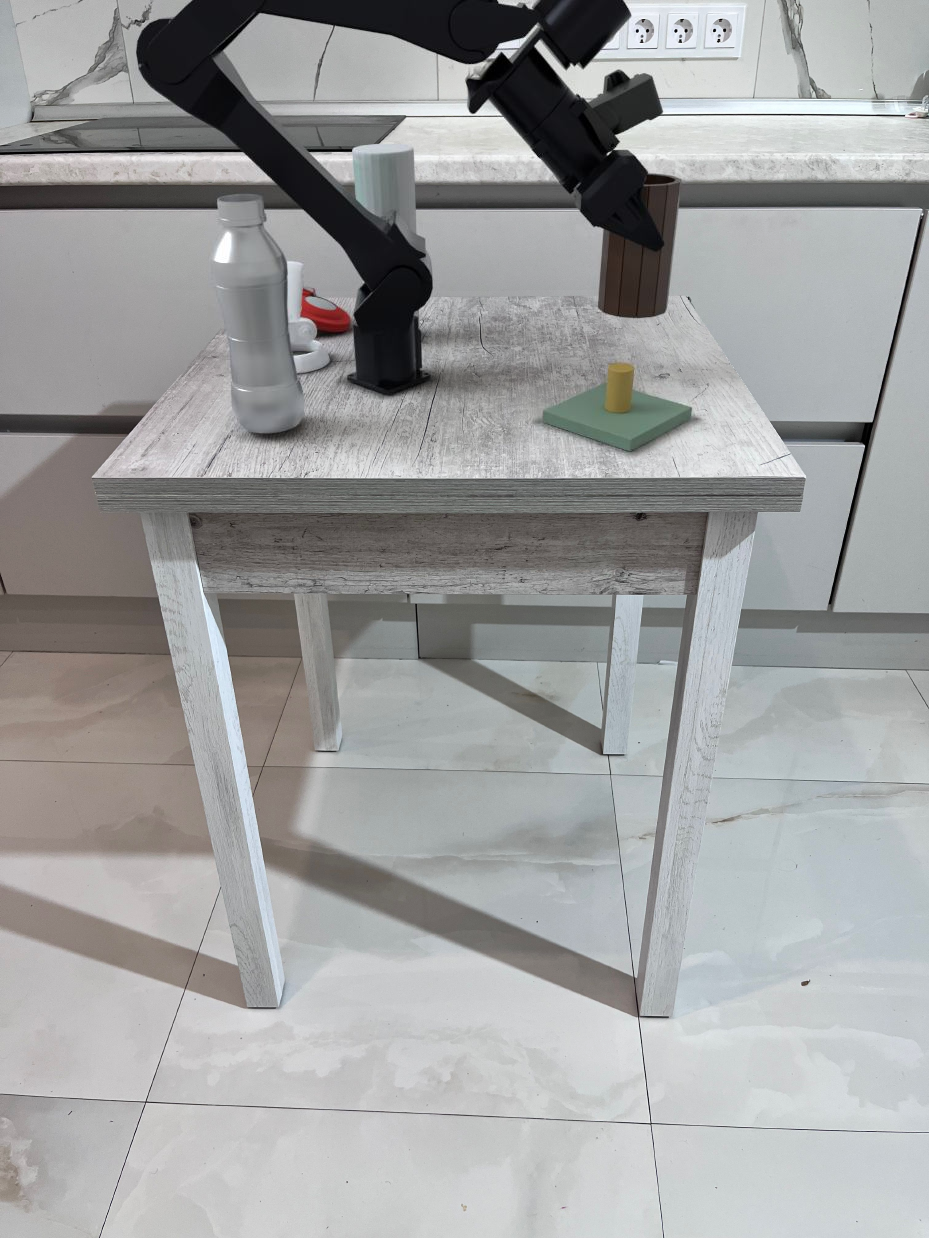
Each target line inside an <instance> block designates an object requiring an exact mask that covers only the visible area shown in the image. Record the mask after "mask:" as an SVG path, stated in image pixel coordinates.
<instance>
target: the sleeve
mask: <svg viewBox="0 0 929 1238" xmlns="http://www.w3.org/2000/svg"><path fill="white" fill-rule="evenodd" d="M682 181H683V179H682V178H679V177H677V176H675V175H671V174H663V173H654V172H653V173H652V172H651V173H650V172H648V174H647V176H646V181H645V182H644V186H643V192H642V199H643V201H644V203H645V205H646V207H647V209H648V211H649V213H650V215H651V217H652V219H653V221H654V223H655V225H656V227H657V229H658V231H659V233H660V234H661V236H662V238H663V240H664V242H665V244H664V246H663V247H662V248H661V249H660V250H659V251H658V252H654V251H652V250H650V249H648V248H646V247H643V246H641V245H639V244H637V243H635V242H632V241H630V240H628V239H625V238H623V237H621V236H619V235H616V234H614V233H612V232H609V231H607V230H605V229H602V230H603V231H602V245H601V258H600V271H599V284H598V298H597V309H598V310H599V311H600V312H602V313H603V314H606V315H610V316H613V317H617V318H625V319H626V318H627V319H647V318H654V317H658V316H660V315H661V316H662V315H663V314H665V313H666V312H667V310H668V303H669V295H670V286H671V279H672V278H671V277H672V269H673V261H674V251H675V243H676V236H677V235H676V234H677V228H678V227H677V226H678V218H679V208H680V199H681V192H682V191H681V190H682Z"/></svg>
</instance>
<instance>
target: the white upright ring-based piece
mask: <svg viewBox="0 0 929 1238" xmlns="http://www.w3.org/2000/svg"><path fill="white" fill-rule="evenodd" d="M286 261H287V266H288V275H287V277H288V321H289V325H288V328H289V334H290V342H291V347H292V352H293V353H294V352H308V353H304V354H300V355H293V357H294V361H295V366H296V371H297V374H303V373H309V372H313V371H317V370H319V369H322V368H324V367H326V366H327V365H328V364H329V363H330V359H331V358H330V356H329V354H328V351H327V350H326V348H325V347H324V345H323V343H321V342H320V341H319V340H317V339H316V337H317V334H318V329H317V328H316V325H315V324H314V322H313V321H311V320H310V319H307V318H303V317H300V313H301V309H302V307H301V302H302V291H303V285H304V279H305V265H304V264H303V263H301V262H299V261H293V260H291V261H290V260H286ZM315 339H316V340H315Z"/></svg>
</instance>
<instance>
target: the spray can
mask: <svg viewBox="0 0 929 1238" xmlns="http://www.w3.org/2000/svg"><path fill="white" fill-rule="evenodd" d="M351 155H352V168H353V169H352V170H353V179H354V181H353V183H354V195H355V199H356V200H357V201H358V202H359V203H360V204H362V205H363V206H364V207H365V208H366V209H367V210H368V211H369V212H371V213H372V214H374V215H376V216H378V217H380V218H381V219H383V220H385V221H387V222H388V221H389V219H390V217H391V216H392V214H393V213H394V211H397V212H398V213H399V215H400V216H401V217H402V219H403V220H404V221H405V223H406V224H407V226H408V227H409V228H410V229H411V230H412V231H413V232H414V233H416V234H417V209H416V207H417V206H416V205H417V204H416V177H415V176H416V174H415V171H416V170H415V150H414V146H411V145H408V144H401V143H374V144H364V145H358V146H355V147H353V148H352V151H351ZM361 283H362V284H363V283H364V281H363V280H362V279H361ZM362 284H361V285H362ZM414 316H418V322H419V323H420V309H419V310H418V311H415V313H414Z"/></svg>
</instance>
